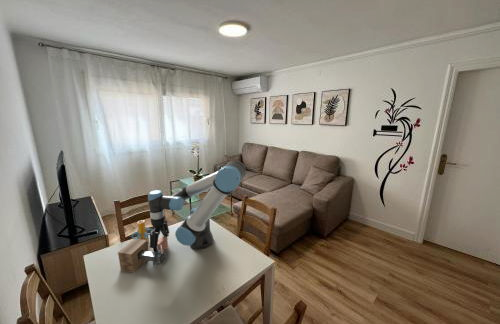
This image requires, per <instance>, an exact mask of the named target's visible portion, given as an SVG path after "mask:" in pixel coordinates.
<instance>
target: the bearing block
mask: <svg viewBox="0 0 500 324" xmlns="http://www.w3.org/2000/svg"><path fill="white" fill-rule="evenodd" d="M148 244H149V242H148V243H147V240H142V239H132V240H131V241H130V242H129V243H128V244H126V245H125V246H124V247H122V248H121V249H120V250H119V251H118V252H117V255H118V261H119V267H120V271H122V272H123V271H124V272H129V273H130V272H131V273H136V271H137V270H138V269H139V268H140V267H141V266H142V265H143V264H144V263H146V261H147V260H141V259H138V255H137V254H138V253H139V252H140V251H148V252H150V251H149V245H148Z"/></svg>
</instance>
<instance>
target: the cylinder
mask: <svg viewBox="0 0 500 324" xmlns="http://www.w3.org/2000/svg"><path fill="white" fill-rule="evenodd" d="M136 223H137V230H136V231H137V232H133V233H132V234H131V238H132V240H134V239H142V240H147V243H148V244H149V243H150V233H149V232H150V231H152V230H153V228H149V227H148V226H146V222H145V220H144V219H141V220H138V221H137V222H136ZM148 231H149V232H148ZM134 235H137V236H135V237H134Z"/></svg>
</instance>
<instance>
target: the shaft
mask: <svg viewBox="0 0 500 324" xmlns="http://www.w3.org/2000/svg"><path fill="white" fill-rule="evenodd" d="M148 251H149V250H148ZM148 251H140V252H139V253H138V254H137V255H138V259H141V260H146V261H147V262H152V265H153V266H155V265H157V263H159V265H163V264H164V263H165V262H166V261H167V252H165V251H163V253H162V254H161V253H160V250H158V251H157V252H156V253H154V251H149V252H148Z"/></svg>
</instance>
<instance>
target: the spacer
mask: <svg viewBox="0 0 500 324" xmlns="http://www.w3.org/2000/svg"><path fill="white" fill-rule="evenodd" d="M167 238H168V236H167V237H165V236H163V235H162V236H161V237H159V238H158V244H157V246H158V248H159V250H160V253H161V254H163V253H162V249H165V250H166V249H168V246H167V241H168V240H167Z"/></svg>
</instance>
